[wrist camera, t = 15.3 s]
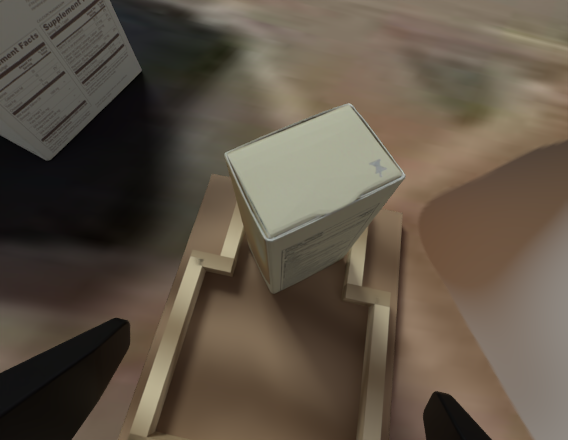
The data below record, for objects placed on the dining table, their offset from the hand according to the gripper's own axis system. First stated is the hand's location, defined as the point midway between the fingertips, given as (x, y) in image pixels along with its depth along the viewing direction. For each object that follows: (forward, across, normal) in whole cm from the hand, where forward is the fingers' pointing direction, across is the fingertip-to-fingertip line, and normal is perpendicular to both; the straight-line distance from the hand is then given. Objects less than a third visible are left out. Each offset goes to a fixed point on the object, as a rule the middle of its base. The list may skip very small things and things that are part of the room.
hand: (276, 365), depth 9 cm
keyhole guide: (+12, 0, +7) cm, 14 cm away
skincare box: (+14, 0, +4) cm, 15 cm away
